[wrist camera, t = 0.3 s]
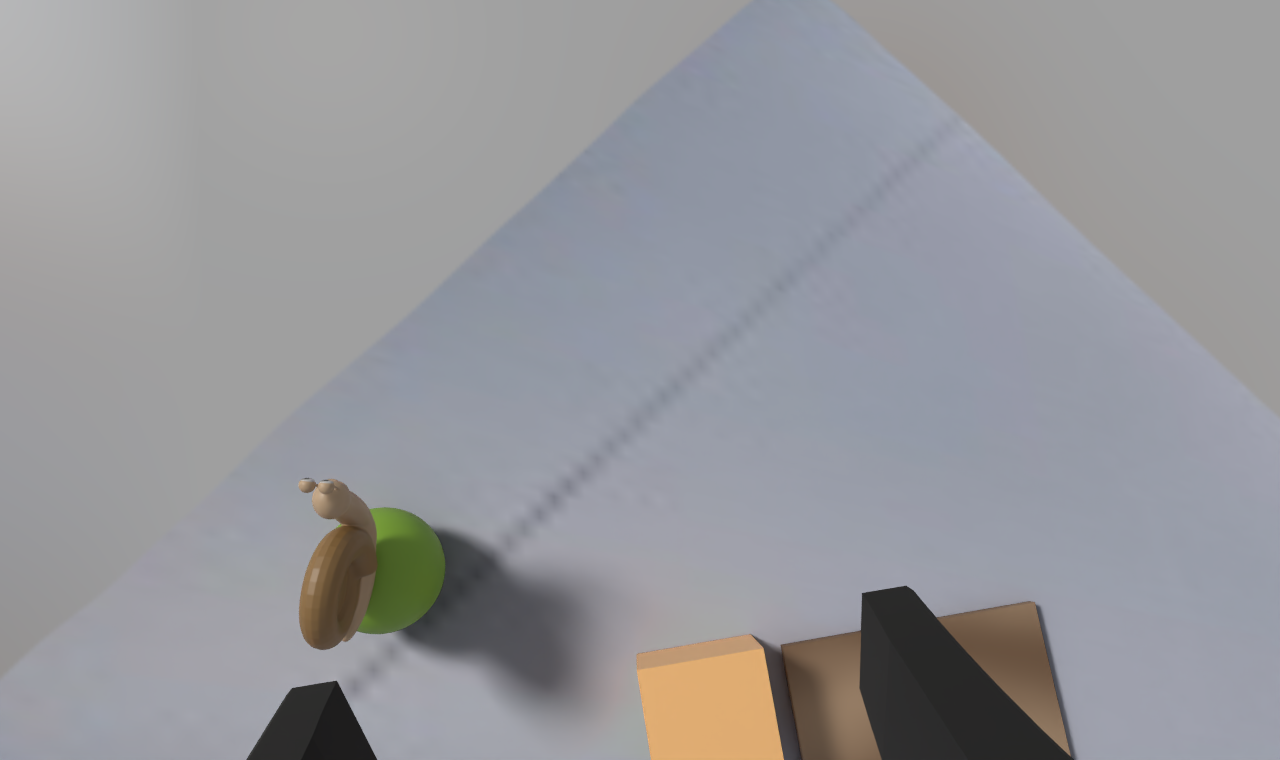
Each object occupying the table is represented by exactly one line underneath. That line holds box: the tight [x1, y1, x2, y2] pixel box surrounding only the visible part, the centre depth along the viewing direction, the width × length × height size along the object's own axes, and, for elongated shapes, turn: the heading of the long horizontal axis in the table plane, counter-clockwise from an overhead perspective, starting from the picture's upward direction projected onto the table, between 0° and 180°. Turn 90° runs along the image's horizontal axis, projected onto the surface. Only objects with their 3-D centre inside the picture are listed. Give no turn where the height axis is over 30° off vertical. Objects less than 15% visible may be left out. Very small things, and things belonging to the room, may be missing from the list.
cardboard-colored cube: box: [637, 634, 784, 760], centre depth 36 cm, size 5×5×4 cm
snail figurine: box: [299, 478, 445, 650], centre depth 33 cm, size 5×6×12 cm
